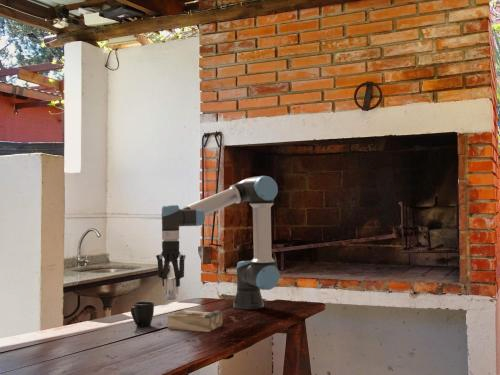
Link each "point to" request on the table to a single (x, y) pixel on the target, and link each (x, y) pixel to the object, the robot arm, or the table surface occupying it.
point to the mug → (142, 313)
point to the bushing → (170, 289)
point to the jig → (195, 320)
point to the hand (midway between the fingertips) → (171, 293)
